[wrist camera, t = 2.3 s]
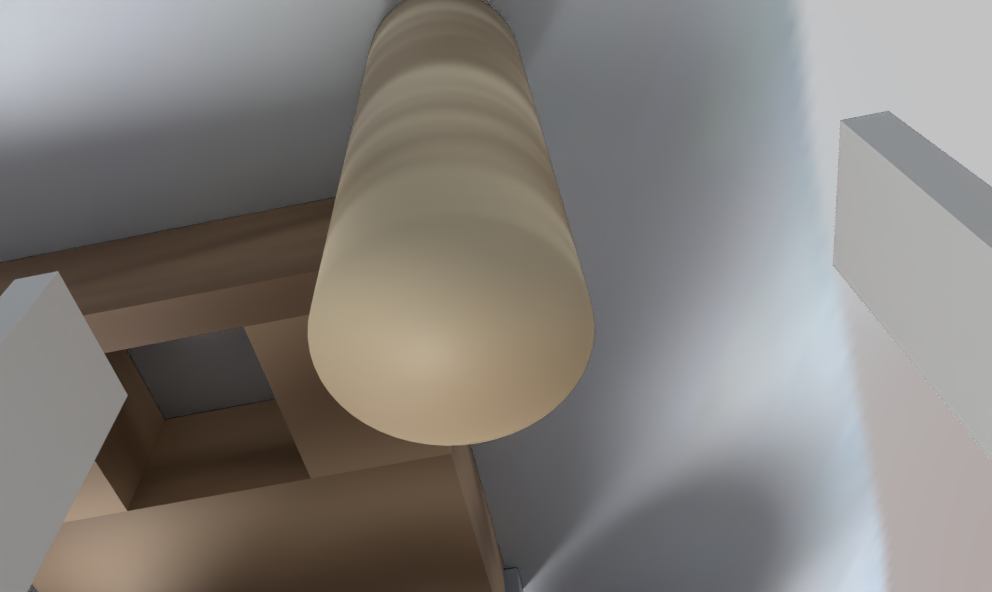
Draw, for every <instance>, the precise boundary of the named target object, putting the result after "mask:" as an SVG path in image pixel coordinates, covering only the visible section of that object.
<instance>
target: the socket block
mask: <svg viewBox="0 0 992 592" xmlns="http://www.w3.org/2000/svg"><path fill="white" fill-rule="evenodd" d="M335 199H336V197H335V198H330V199H325V200H320V201H315V202H310V203H305V204H300V205H294V206H289V207H284V208H279V209H274V210H269V211H264V212H258V213H253V214H248V215H243V216H238V217H233V218H228V219H222V220H217V221H212V222H207V223H202V224H197V225H192V226H187V227H181V228H176V229H171V230H166V231H161V232H156V233H151V234H145V235H140V236H135V237H130V238H125V239H120V240H115V241H109V242H104V243H99V244H94V245H89V246H84V247H79V248H74V249H68V250H63V251H58V252H53V253H48V254H43V255H38V256H32V257H27V258H22V259H17V260H12V261H7V262H2V263H0V296H1V295H2V294H3V293H4V291H5V290H6V289H7V288H8V287H9V286H10V284H11V283H12V282H13V281H14V280H15V279H20V278H25V277H30V276H36V275H41V274H46V273H51V272H56V271H58V272H59V274H60V276H61V277H62V279H63V281H64V283H65V284H66V286H67V288H68V290H69V292H70V293H71V295H72V297H73V299H74V301H75V302H76V304H77V306H78V308H79V309H80V311H81V313H82V315H83V317H84V318H85V320H86V322H87V324H88V325H89V327H90V329H91V331H92V333H93V334H94V336H95V338H96V340H97V341H98V343H99V345H100V347H101V349H102V350H103V352H104V354H105V356H106V357H107V359H108V361H109V363H110V365H111V366H112V368H113V370H114V372H115V373H116V375H117V377H118V379H119V381H120V382H121V384H122V386H123V388H124V390H125V391H126V393H127V395H128V396H127V398H126V400H125V402H124V404H123V406H122V408H121V410H120V412H119V413H118V415H117V417H116V419H115V421H114V423H113V425H112V427H111V429H110V431H109V433H108V435H107V437H106V439H105V441H104V443H103V445H102V447H101V449H100V451H99V453H98V455H97V457H96V459H95V461H94V463H93V465H92V467H91V469H90V470H89V472H88V474H87V476H86V478H85V480H84V482H83V484H82V486H81V488H80V490H79V492H78V494H77V496H76V498H75V500H74V502H73V504H72V506H71V508H70V510H69V512H68V514H67V516H66V518H65V520H64V522H63V524H62V525H61V527H60V529H59V531H58V533H57V535H56V537H55V539H54V541H53V543H52V545H51V547H50V549H49V551H48V553H47V555H46V557H45V559H44V561H43V563H42V565H41V567H40V569H39V571H38V573H37V575H36V577H35V579H34V581H33V582H32V585H33V586H34V587H35V589H36V590H37V591H38V592H505V581H504V569H503V561H502V557H501V553H500V550H499V546H498V543H497V539H496V535H495V532H494V528H493V524H492V521H491V517H490V514H489V510H488V506H487V503H486V499H485V495H484V492H483V488H482V485H481V481H480V477H479V474H478V470H477V466H476V463H475V459H474V456H473V452H472V448H471V445H470V444H468V445H452V446H443V445H429V444H422V443H416V442H411V441H407V440H403V439H400V438H396V437H393V436H391V435H388V434H385V433H383V432H380V431H378V430H376V429H374V428H372V427H370V426H369V425H367V424H365V423H363V422H362V421H360V420H359V419H357V418H356V417H354V416H353V415H352V414H350V413H349V412H348V411H347V410H346V409H345V408H343V407H342V406H341V405H340V404H339V403H338V402H337V401H336V400H335V399H334V397H333V396H332V395H331V394H330V393H329V392H328V390H327V389H326V387H325V386H324V384H323V383H322V381H321V380H320V377H319V375H318V373H317V371H316V369H315V367H314V364H313V361H312V358H311V355H310V350H309V343H308V319H309V314H310V309H311V304H312V300H313V295H314V291H315V286H316V282H317V278H318V273H319V269H320V265H321V260H322V256H323V252H324V247H325V243H326V238H327V234H328V230H329V225H330V221H331V217H332V212H333V208H334V204H335ZM241 327H244V329H245V332H246V334H247V336H248V338H249V341H250V343H251V345H252V347H253V350H254V352H255V354H256V356H257V359H258V361H259V363H260V365H261V368H262V370H263V372H264V374H265V377H266V379H267V381H268V383H269V386H270V388H271V390H272V392H273V395H274V397H275V400H269V401H264V402H258V403H253V404H247V405H242V406H236V407H231V408H226V409H220V410H215V411H209V412H204V413H198V414H193V415H187V416H182V417H176V418H171V419H164V417H163V415H162V413H161V412H160V410H159V408H158V406H157V404H156V403H155V401H154V399H153V397H152V395H151V394H150V392H149V390H148V388H147V386H146V385H145V383H144V381H143V379H142V377H141V376H140V374H139V372H138V370H137V368H136V367H135V365H134V363H133V361H132V359H131V358H130V356H129V354H128V352H127V350H126V349H129V348H134V347H140V346H145V345H150V344H156V343H161V342H166V341H172V340H177V339H182V338H188V337H193V336H198V335H204V334H209V333H214V332H220V331H225V330H230V329H236V328H241Z"/></svg>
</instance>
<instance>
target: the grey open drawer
mask: <svg viewBox="0 0 992 592" xmlns="http://www.w3.org/2000/svg"><path fill="white" fill-rule="evenodd" d="M504 581H505V592H523V588H522V584H521V580H520V577H519V573H518V569H517V568H513V569H507V570H504Z"/></svg>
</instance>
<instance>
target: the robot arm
mask: <svg viewBox="0 0 992 592" xmlns="http://www.w3.org/2000/svg"><path fill="white" fill-rule="evenodd" d="M833 266H834V267H835V269H836V270H837V271H838V272H839V274H840V275H841V276H842V277H843V278H844V280H845V281H846V282H847V283H848V285H849V286H850V287H851V288H852V290H853V291H854V292H855V293H856V294H857V296H858V297H859V298H860V299H861V301H862V302H863V303H864V304H865V306H866V307H867V308H868V309H869V311H870V312H871V313H872V314H873V316H874V317H875V318H876V319H877V320H878V322H879V323H880V324H881V325H882V327H883V328H884V329H885V330H886V332H887V333H888V334H889V335H890V337H891V338H892V339H893V340H894V342H895V343H896V344H897V345H898V346H899V348H900V349H901V350H902V351H903V353H904V354H905V355H906V356H907V357H908V359H909V360H910V361H911V363H912V364H913V365H914V366H915V367H916V369H917V370H918V371H919V372H920V374H921V375H922V376H923V377H924V379H925V380H926V381H927V382H928V383H929V385H930V386H931V387H932V388H933V390H934V391H935V392H936V393H937V395H938V396H939V397H940V398H941V400H942V401H943V402H944V403H945V405H946V406H947V407H948V408H949V409H950V411H951V412H952V413H953V414H954V416H955V417H956V418H957V419H958V421H959V422H960V423H961V424H962V425H963V427H964V428H965V429H966V430H967V432H968V433H969V434H970V435H971V437H972V438H973V439H974V440H975V442H976V443H977V444H978V445H979V447H980V448H981V449H982V450H983V451H984V453H985V454H986V455H987V456H988V458H989V459H990V460H991V461H992V187H991V186H990V185H988V184H987V183H986V182H984V181H983V180H982V179H980V178H979V177H977V176H976V175H975V174H973V173H972V172H970V171H969V170H968V169H967V168H965V167H964V166H963V165H961V164H960V163H959V162H957V161H956V160H954V159H953V158H952V157H950V156H949V155H948V154H946V153H945V152H944V151H942V150H941V149H940V148H938V147H937V146H935V145H934V144H933V143H931V142H930V141H929V140H927V139H926V138H925V137H923V136H922V135H921V134H919V133H918V132H916V131H915V130H914V129H912V128H911V127H910V126H908V125H907V124H906V123H904V122H903V121H902V120H900V119H899V118H898V117H896V116H895V115H893V114H892V113H891V112H889V111H886V112H881V113H876V114H870V115H865V116H860V117H854V118H849V119H844V120H841V121H840V140H839V159H838V178H837V197H836V216H835V235H834V255H833ZM127 396H128V395H127V393H126V391H125V390H124V388H123V386H122V384H121V382H120V381H119V379H118V377H117V375H116V373H115V372H114V370H113V368H112V366H111V365H110V363H109V361H108V359H107V357H106V356H105V354H104V352H103V350H102V349H101V347H100V345H99V343H98V341H97V340H96V338H95V336H94V334H93V333H92V331H91V329H90V327H89V325H88V324H87V322H86V320H85V318H84V317H83V315H82V313H81V311H80V309H79V308H78V306H77V304H76V302H75V301H74V299H73V297H72V295H71V293H70V292H69V290H68V288H67V286H66V284H65V283H64V281H63V279H62V277H61V276H60V274H59V272H58V271H56V272H51V273H46V274H41V275H36V276H30V277H25V278H20V279H15V280H14V281H13V282H12V283H11V284H10V286H9V287H8V288H7V289H6V290H5V291H4V293H3V294H2V295H1V296H0V592H28V590H29V588H30V586H31V584H32V582H33V581H34V579H35V577H36V575H37V573H38V571H39V569H40V567H41V565H42V563H43V561H44V559H45V557H46V555H47V553H48V551H49V549H50V547H51V545H52V543H53V541H54V539H55V537H56V535H57V533H58V531H59V529H60V527H61V525H62V524H63V522H64V520H65V518H66V516H67V514H68V512H69V510H70V508H71V506H72V504H73V502H74V500H75V498H76V496H77V494H78V492H79V490H80V488H81V486H82V484H83V482H84V480H85V478H86V476H87V474H88V472H89V470H90V469H91V467H92V465H93V463H94V461H95V459H96V457H97V455H98V453H99V451H100V449H101V447H102V445H103V443H104V441H105V439H106V437H107V435H108V433H109V431H110V429H111V427H112V425H113V423H114V421H115V419H116V417H117V415H118V413H119V412H120V410H121V408H122V406H123V404H124V402H125V400H126V398H127Z"/></svg>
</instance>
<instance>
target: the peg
mask: <svg viewBox="0 0 992 592" xmlns="http://www.w3.org/2000/svg"><path fill="white" fill-rule="evenodd" d="M594 332H595V326H594V314H593V309H592V305H591V300H590V297H589V293H588V290H587V286H586V283H585V279H584V276H583V272H582V269H581V265H580V262H579V258H578V255H577V251H576V248H575V244H574V241H573V237H572V234H571V230H570V227H569V223H568V220H567V216H566V213H565V209H564V206H563V202H562V199H561V195H560V192H559V188H558V185H557V182H556V178H555V175H554V171H553V168H552V164H551V161H550V157H549V154H548V150H547V147H546V143H545V140H544V136H543V133H542V129H541V126H540V122H539V119H538V115H537V112H536V108H535V105H534V101H533V98H532V94H531V91H530V87H529V84H528V80H527V77H526V73H525V70H524V66H523V63H522V59H521V56H520V52H519V49H518V45H517V43H516V40H515V37H514V35H513V33H512V31H511V29H510V27H509V26H508V24H507V23H506V22H505V20H504V19H503V18H502V17H501V16H500V15H499V13H498V12H497V11H496V10H494V9H493V8H492V7H491V6H489V5H488V4H487V3H485V2H483V1H482V0H405V1H404V2H402V3H400V4H399V5H398V6H396V7H395V8H394V9H393V10H391V12H390V13H389V14H388V15H387V16H386V17H385V18H384V20H383V21H382V22H381V24H380V25H379V27H378V29H377V31H376V33H375V35H374V37H373V40H372V43H371V47H370V51H369V55H368V60H367V64H366V68H365V73H364V77H363V81H362V86H361V90H360V95H359V99H358V103H357V108H356V112H355V116H354V121H353V125H352V129H351V134H350V138H349V143H348V147H347V151H346V156H345V160H344V164H343V169H342V173H341V177H340V182H339V186H338V191H337V195H336V199H335V204H334V208H333V212H332V217H331V221H330V225H329V230H328V234H327V238H326V243H325V247H324V252H323V256H322V260H321V265H320V269H319V273H318V278H317V282H316V286H315V291H314V295H313V300H312V304H311V309H310V314H309V319H308V343H309V350H310V355H311V358H312V361H313V364H314V367H315V369H316V371H317V373H318V375H319V377H320V380H321V381H322V383H323V384H324V386H325V387H326V389H327V390H328V392H329V393H330V394H331V395H332V396H333V397H334V399H335V400H336V401H337V402H338V403H339V404H340V405H341V406H342V407H343V408H345V409H346V410H347V411H348V412H349V413H350V414H352V415H353V416H354V417H356V418H357V419H359V420H360V421H362V422H363V423H365V424H367V425H369V426H370V427H372V428H374V429H376V430H378V431H380V432H383V433H385V434H388V435H391V436H393V437H396V438H400V439H403V440H407V441H411V442H416V443H422V444H429V445H443V446H452V445H468V444H476V443H482V442H486V441H491V440H495V439H499V438H502V437H505V436H508V435H511V434H513V433H515V432H518V431H520V430H522V429H524V428H526V427H528V426H530V425H532V424H533V423H535V422H537V421H539V420H540V419H542V418H543V417H545V416H546V415H547V414H549V413H550V412H551V411H553V410H554V409H555V408H556V407H557V406H558V405H559V404H560V403H561V402H562V401H563V400H564V399H565V398H566V397H567V396H568V395H569V394H570V392H571V391H572V390H573V389H574V387H575V386H576V385H577V383H578V381H579V380H580V378H581V376H582V375H583V373H584V371H585V369H586V366H587V364H588V362H589V359H590V355H591V352H592V348H593V342H594Z"/></svg>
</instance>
